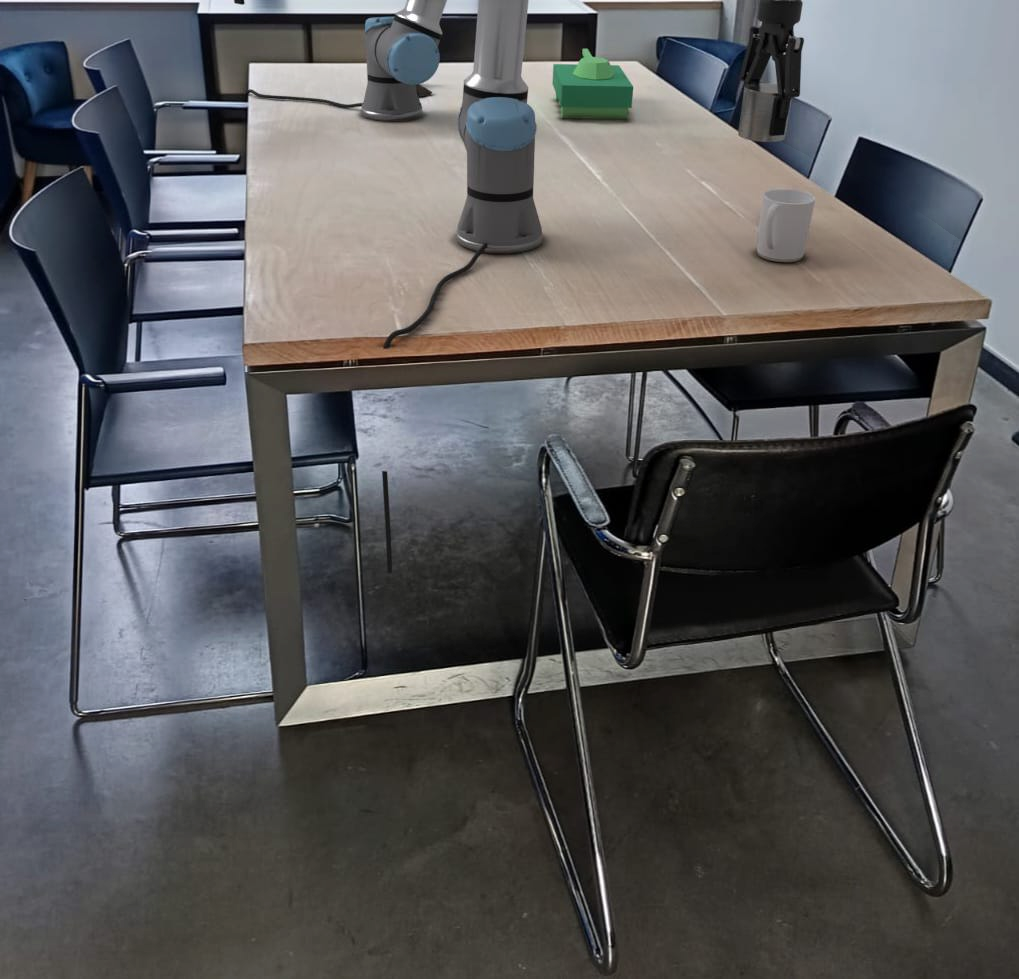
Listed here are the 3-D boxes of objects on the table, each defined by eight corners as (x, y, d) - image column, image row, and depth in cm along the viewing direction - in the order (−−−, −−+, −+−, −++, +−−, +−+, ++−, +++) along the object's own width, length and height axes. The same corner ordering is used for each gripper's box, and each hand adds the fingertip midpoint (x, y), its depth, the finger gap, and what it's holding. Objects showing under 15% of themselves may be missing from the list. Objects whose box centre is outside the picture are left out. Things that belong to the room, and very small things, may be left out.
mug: (769, 242, 197) (777, 185, 192) (814, 254, 192) (824, 196, 187) (738, 258, 190) (746, 199, 184) (785, 270, 185) (795, 210, 180)
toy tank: (616, 45, 298) (634, 70, 268) (612, 92, 304) (630, 122, 275) (551, 43, 297) (563, 69, 267) (549, 91, 303) (560, 121, 274)
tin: (795, 139, 204) (803, 91, 199) (758, 143, 200) (765, 94, 196) (764, 128, 210) (771, 81, 206) (728, 132, 207) (734, 85, 202)
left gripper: (215, -107, 218) (227, 8, 230) (314, -110, 234) (321, -3, 245) (194, -109, 223) (207, 4, 234) (293, -112, 238) (300, -6, 250)
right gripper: (836, 6, 185) (813, 141, 197) (765, -11, 202) (748, 114, 214) (799, 7, 183) (777, 144, 195) (731, -10, 200) (715, 117, 212)
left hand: (265, 1), depth 240 cm, fingers open, 13 cm apart
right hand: (762, 128), depth 204 cm, fingers closed on tin, 9 cm apart
